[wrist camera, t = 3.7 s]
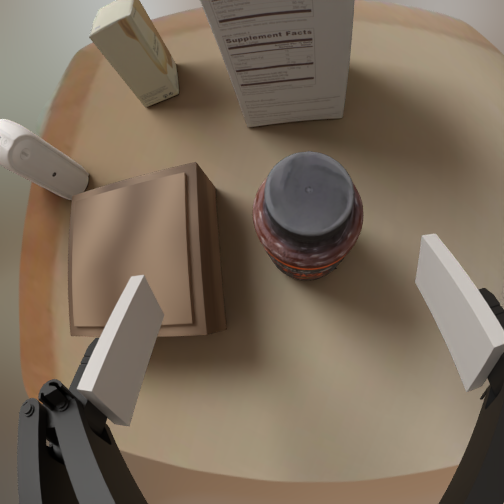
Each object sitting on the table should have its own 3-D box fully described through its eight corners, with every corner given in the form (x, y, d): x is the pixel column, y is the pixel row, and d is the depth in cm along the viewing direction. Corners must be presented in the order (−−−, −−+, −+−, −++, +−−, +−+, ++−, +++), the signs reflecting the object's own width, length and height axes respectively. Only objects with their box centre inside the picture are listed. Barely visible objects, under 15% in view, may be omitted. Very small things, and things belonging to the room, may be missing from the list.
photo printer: (96, 172, 29) (18, 119, 17) (77, 207, 28) (-8, 165, 16) (54, 151, 31) (-10, 108, 19) (38, 179, 31) (-29, 142, 19)
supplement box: (344, 120, 25) (362, -41, 8) (246, 130, 26) (186, -24, 10) (324, 54, 27) (319, -78, 10) (241, 63, 28) (198, -64, 12)
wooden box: (215, 187, 26) (194, 160, 20) (226, 329, 23) (205, 335, 18) (103, 211, 27) (70, 194, 22) (105, 333, 25) (68, 336, 20)
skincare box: (180, 95, 28) (130, 15, 17) (145, 109, 29) (86, 39, 17) (176, 61, 30) (135, -11, 18) (144, 74, 30) (96, 8, 19)
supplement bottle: (267, 281, 23) (235, 258, 12) (269, 208, 24) (241, 134, 13) (344, 282, 22) (379, 259, 11) (342, 208, 23) (368, 132, 12)
